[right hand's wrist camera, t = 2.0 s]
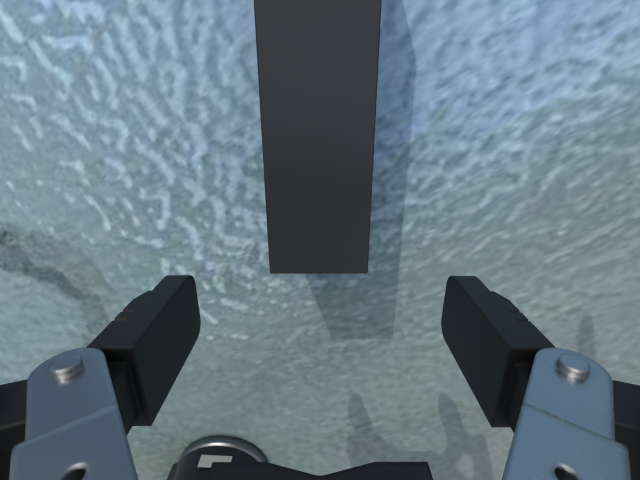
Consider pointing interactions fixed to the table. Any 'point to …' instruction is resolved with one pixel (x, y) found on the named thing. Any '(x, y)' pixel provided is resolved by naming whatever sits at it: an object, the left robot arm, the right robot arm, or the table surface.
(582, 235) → the table surface
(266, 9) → the bar
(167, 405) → the table surface
